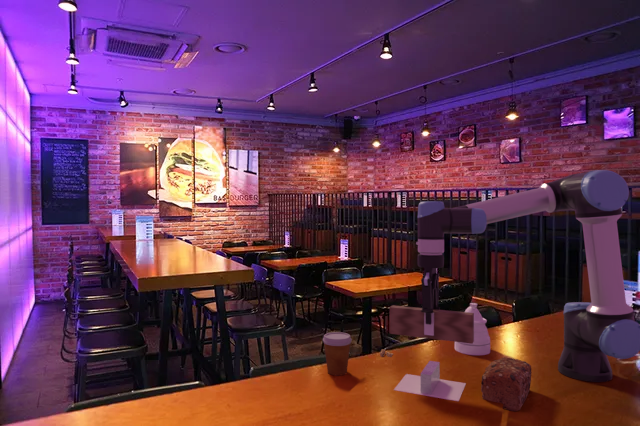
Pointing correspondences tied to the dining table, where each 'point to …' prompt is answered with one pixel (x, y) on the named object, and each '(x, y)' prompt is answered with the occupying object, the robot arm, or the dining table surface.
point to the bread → (507, 382)
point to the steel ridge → (430, 377)
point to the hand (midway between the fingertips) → (430, 333)
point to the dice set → (386, 353)
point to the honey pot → (476, 335)
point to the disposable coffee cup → (337, 352)
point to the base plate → (442, 389)
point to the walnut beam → (445, 324)
